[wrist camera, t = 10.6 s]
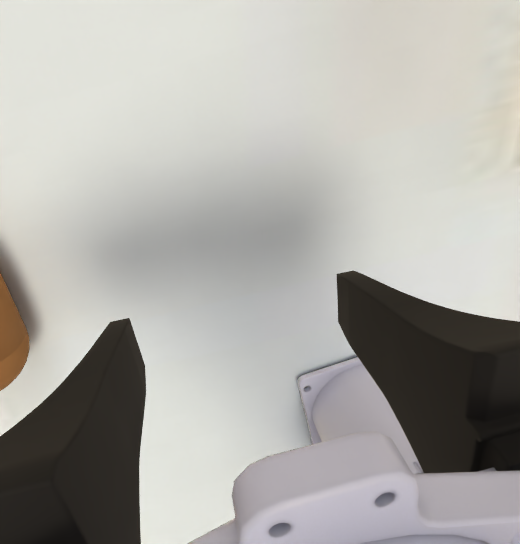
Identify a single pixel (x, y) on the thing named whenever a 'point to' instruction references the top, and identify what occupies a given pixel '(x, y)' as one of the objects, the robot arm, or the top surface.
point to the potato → (11, 338)
